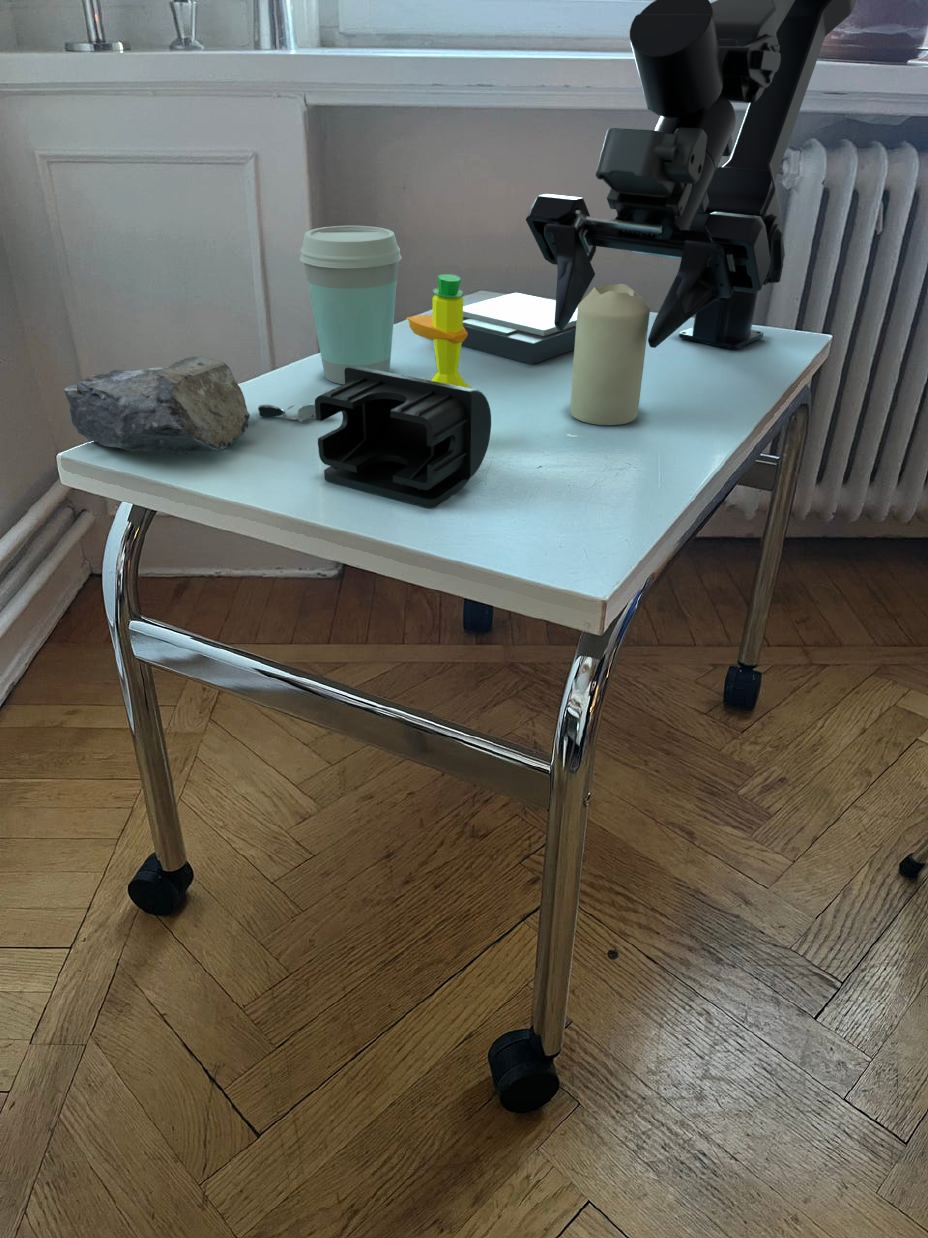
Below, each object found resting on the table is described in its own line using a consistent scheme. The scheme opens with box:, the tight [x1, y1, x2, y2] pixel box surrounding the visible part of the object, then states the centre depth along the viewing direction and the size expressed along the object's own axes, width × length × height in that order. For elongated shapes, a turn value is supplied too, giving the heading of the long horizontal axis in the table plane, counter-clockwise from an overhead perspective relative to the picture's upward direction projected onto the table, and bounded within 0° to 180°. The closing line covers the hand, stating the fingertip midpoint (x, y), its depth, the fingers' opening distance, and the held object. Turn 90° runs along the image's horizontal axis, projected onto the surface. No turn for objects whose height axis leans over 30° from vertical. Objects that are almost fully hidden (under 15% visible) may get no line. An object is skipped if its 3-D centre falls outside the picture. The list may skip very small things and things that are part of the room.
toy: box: [257, 404, 316, 424], centre depth 72 cm, size 1×8×2 cm
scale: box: [461, 292, 578, 365], centre depth 93 cm, size 13×13×3 cm
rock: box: [63, 355, 251, 455], centre depth 67 cm, size 14×11×5 cm
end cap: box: [314, 366, 492, 509], centre depth 62 cm, size 10×7×7 cm
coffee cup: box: [299, 225, 403, 385], centre depth 79 cm, size 8×8×12 cm
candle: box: [569, 283, 651, 426], centre depth 72 cm, size 6×6×10 cm
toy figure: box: [406, 273, 473, 389], centre depth 66 cm, size 7×4×12 cm, turn 43°
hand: (603, 335), depth 70 cm, fingers open, 8 cm apart
